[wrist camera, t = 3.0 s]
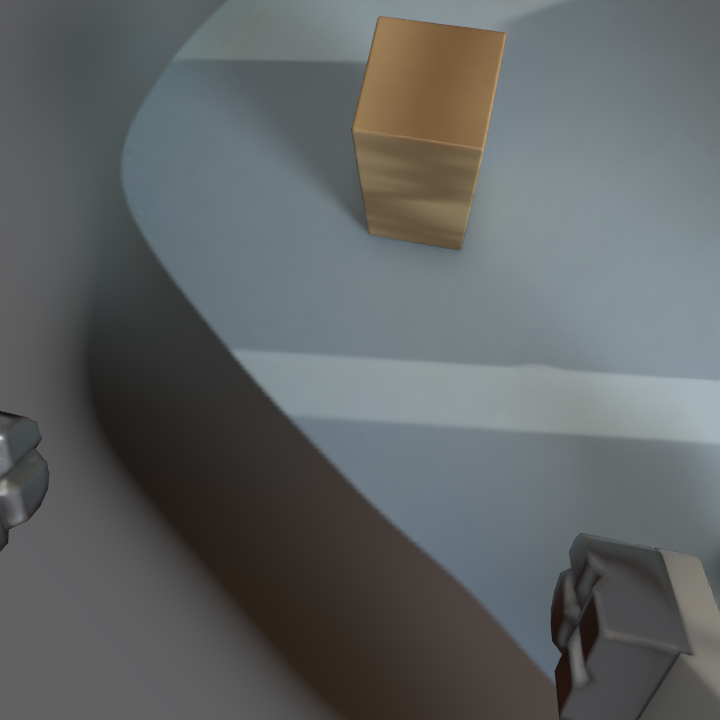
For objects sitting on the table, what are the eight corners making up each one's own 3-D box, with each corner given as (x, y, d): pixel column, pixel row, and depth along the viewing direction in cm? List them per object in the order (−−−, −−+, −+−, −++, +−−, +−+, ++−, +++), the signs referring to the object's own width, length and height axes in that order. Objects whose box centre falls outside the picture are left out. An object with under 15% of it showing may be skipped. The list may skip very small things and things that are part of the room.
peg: (368, 235, 26) (350, 130, 18) (387, 150, 27) (378, 14, 19) (461, 250, 26) (483, 150, 18) (478, 164, 26) (507, 31, 18)
